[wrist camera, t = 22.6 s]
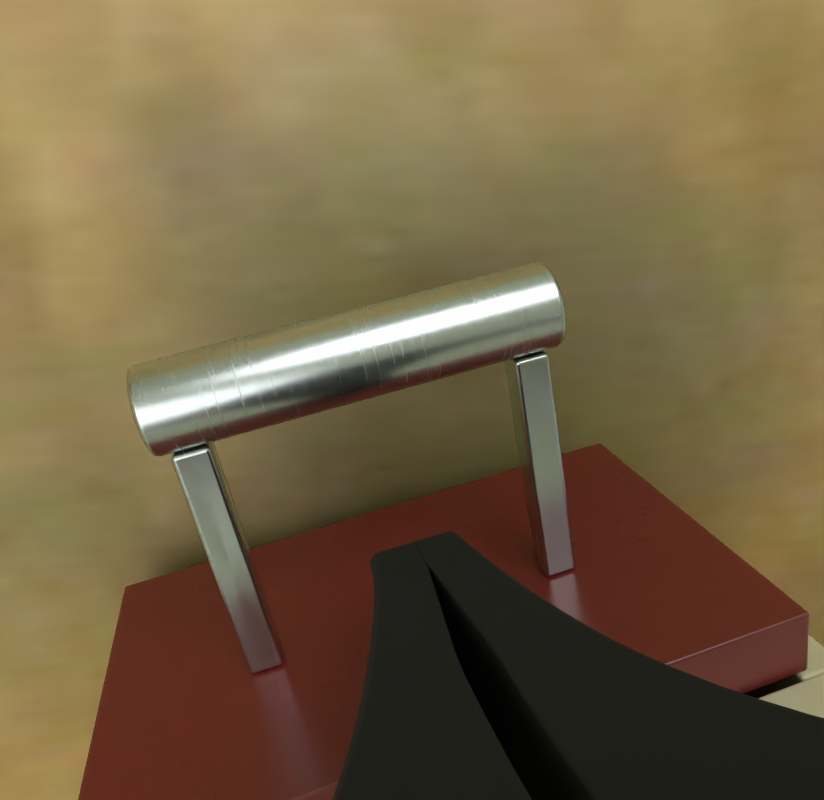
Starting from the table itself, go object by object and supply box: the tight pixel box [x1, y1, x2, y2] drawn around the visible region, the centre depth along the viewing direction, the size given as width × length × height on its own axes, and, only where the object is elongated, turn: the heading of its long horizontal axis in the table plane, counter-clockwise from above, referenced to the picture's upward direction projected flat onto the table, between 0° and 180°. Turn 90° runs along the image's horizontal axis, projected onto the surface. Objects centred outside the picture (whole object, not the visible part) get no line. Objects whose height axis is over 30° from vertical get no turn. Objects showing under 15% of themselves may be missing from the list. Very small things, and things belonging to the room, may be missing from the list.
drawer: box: [78, 262, 809, 800], centre depth 15 cm, size 19×11×7 cm, turn 11°
